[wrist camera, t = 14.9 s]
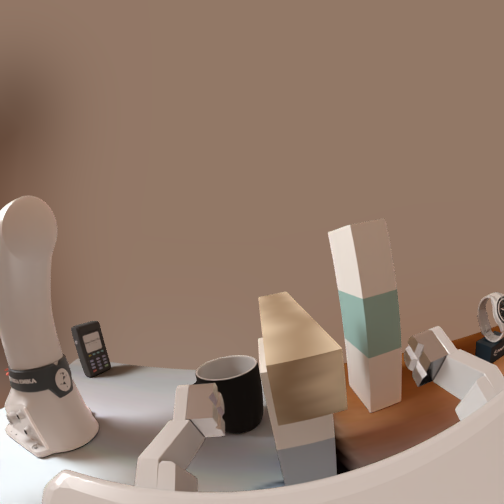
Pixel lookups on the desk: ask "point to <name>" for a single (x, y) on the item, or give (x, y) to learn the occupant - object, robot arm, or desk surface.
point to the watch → (493, 342)
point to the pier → (300, 440)
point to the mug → (236, 390)
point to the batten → (300, 362)
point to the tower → (369, 311)
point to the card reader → (91, 348)
